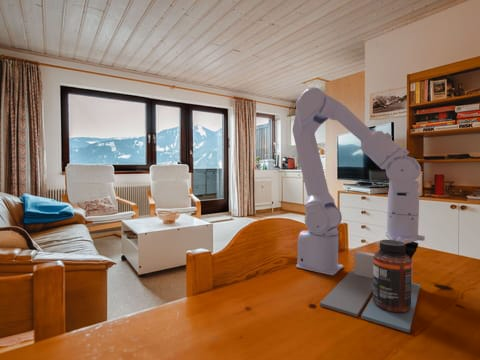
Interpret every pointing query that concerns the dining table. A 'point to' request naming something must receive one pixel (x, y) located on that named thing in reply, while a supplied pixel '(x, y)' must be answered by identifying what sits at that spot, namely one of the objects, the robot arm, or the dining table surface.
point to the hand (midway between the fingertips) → (400, 276)
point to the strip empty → (353, 287)
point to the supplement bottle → (392, 277)
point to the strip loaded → (393, 318)
